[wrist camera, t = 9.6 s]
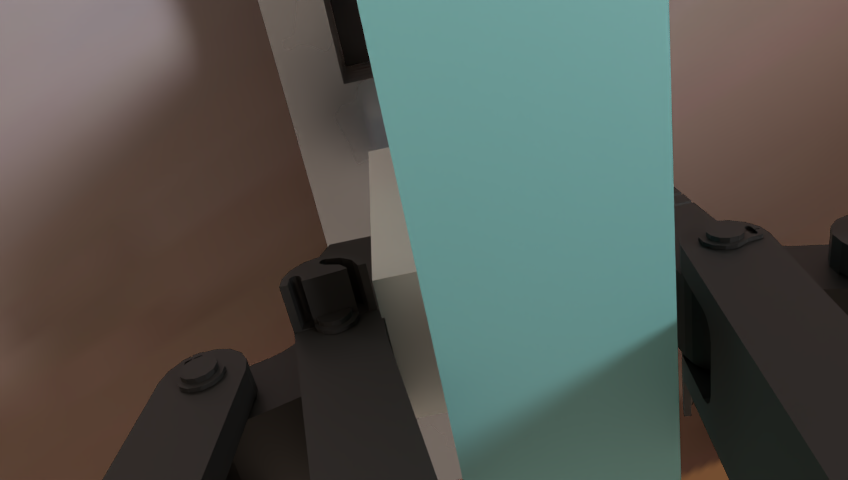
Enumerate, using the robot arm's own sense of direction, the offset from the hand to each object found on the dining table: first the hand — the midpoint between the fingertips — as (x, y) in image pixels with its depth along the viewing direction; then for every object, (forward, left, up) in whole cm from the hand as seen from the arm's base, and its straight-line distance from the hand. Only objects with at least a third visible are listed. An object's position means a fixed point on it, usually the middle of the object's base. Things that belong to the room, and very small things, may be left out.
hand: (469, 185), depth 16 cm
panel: (0, 0, -3) cm, 3 cm away
